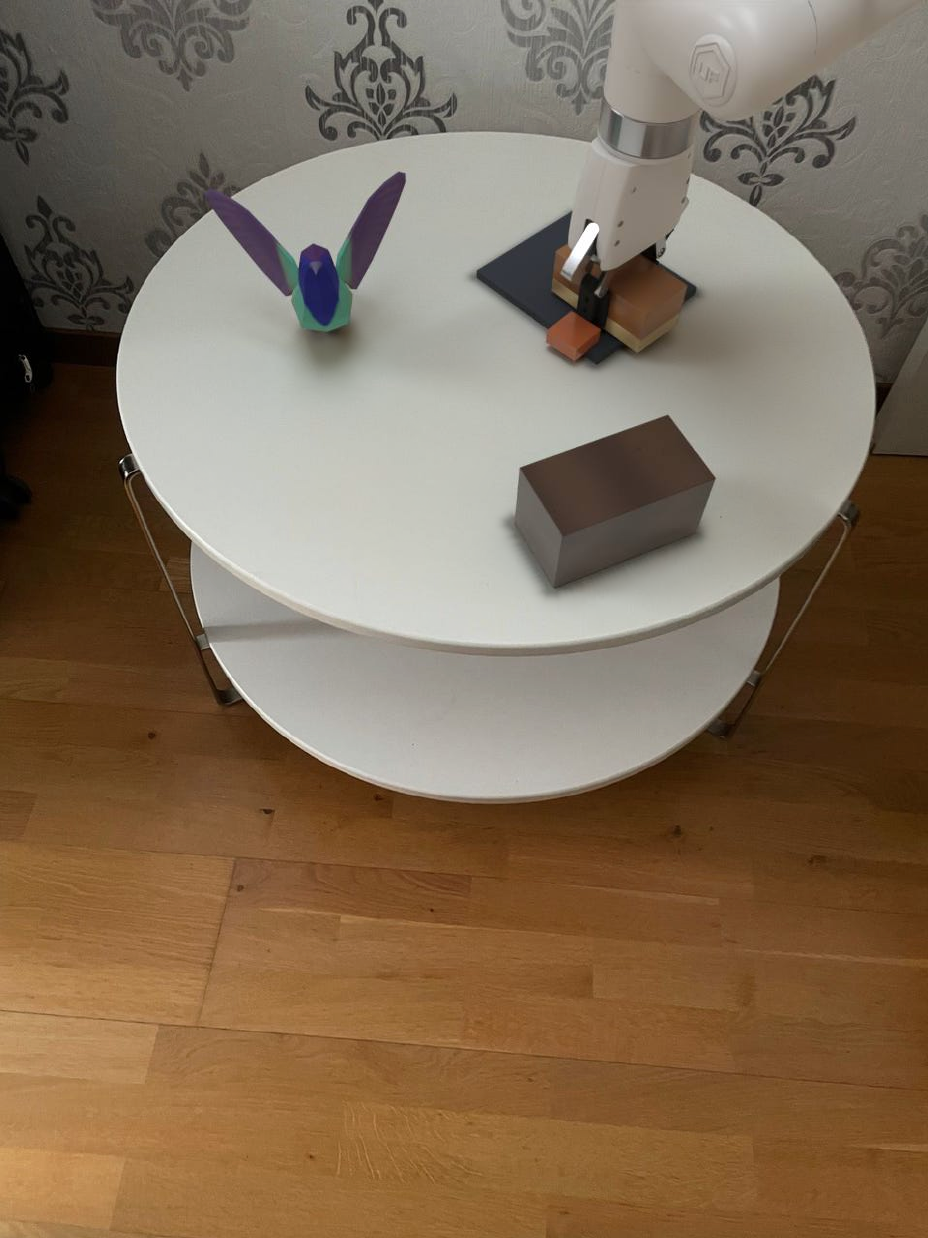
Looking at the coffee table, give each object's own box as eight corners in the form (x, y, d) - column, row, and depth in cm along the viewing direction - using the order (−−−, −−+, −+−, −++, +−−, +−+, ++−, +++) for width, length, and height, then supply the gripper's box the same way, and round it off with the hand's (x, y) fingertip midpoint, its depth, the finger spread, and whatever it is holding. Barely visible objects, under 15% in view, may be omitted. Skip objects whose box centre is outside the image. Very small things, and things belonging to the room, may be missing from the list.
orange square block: (599, 341, 87) (601, 328, 85) (574, 361, 85) (576, 348, 84) (570, 323, 88) (571, 310, 87) (545, 342, 87) (546, 329, 85)
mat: (695, 293, 91) (697, 286, 91) (596, 364, 86) (597, 357, 86) (575, 214, 97) (576, 207, 97) (476, 277, 92) (476, 270, 92)
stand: (652, 471, 80) (668, 413, 74) (696, 533, 77) (716, 477, 71) (514, 522, 77) (519, 467, 71) (553, 588, 74) (562, 536, 68)
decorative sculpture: (239, 425, 82) (199, 285, 69) (231, 282, 92) (195, 134, 79) (434, 403, 84) (430, 261, 71) (407, 264, 93) (399, 117, 80)
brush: (550, 290, 90) (555, 250, 86) (591, 264, 92) (597, 224, 88) (637, 353, 86) (646, 314, 82) (677, 324, 88) (687, 285, 84)
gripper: (684, 55, 77) (645, 244, 93) (534, 140, 71) (519, 327, 87) (757, 96, 74) (704, 283, 90) (608, 188, 68) (578, 371, 84)
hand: (614, 303), depth 88 cm, fingers closed on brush, 5 cm apart
